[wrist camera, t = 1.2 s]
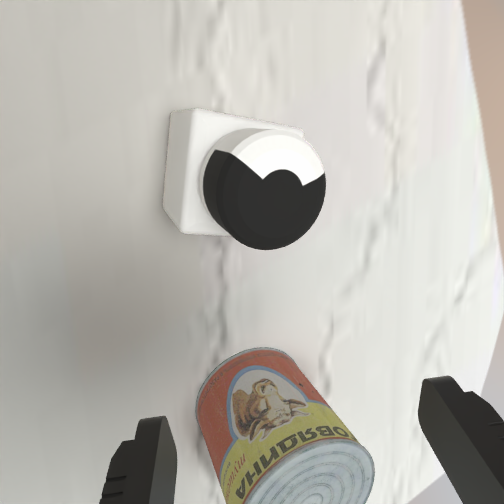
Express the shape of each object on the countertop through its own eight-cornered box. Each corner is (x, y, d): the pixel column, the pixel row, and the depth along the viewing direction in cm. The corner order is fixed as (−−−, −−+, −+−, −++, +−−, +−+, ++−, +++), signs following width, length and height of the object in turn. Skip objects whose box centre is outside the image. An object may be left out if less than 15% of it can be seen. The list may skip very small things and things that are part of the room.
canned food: (286, 328, 36) (365, 414, 25) (308, 408, 41) (382, 507, 30) (178, 382, 33) (216, 502, 23) (215, 460, 38) (261, 590, 27)
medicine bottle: (247, 216, 31) (326, 266, 20) (161, 209, 28) (200, 263, 17) (261, 127, 29) (357, 131, 18) (170, 110, 26) (220, 102, 15)
